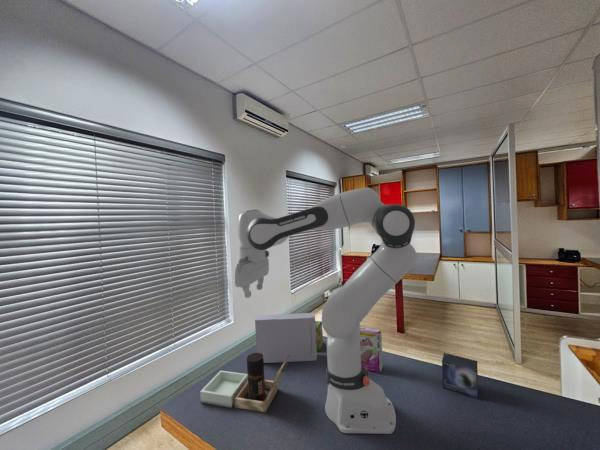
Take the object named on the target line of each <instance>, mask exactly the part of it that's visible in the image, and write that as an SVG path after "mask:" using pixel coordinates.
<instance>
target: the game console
mask: <svg viewBox="0 0 600 450" xmlns="http://www.w3.org/2000/svg"><path fill="white" fill-rule="evenodd" d="M315 321H316V316H315V312H305V313H304V312H302V313H301V312H300V313H284V314H280V313H279V314H264V315H263V314H262V315H256V317H255V320H254V326H255V327H254V328H255V343H256V345H255V347H256V353H261V354H263V361H264V364H270V363H271V364H273V363H274V364H275V363H283V362H284V361H285V359H286V357H287V356H288V355H289V358H288V360H287V363H289V362H290V363H291V362H293V363H294V362H296V363H297V362H312V361H313V362H316V361H317V360H318V351H317V350H316V330H315Z"/></svg>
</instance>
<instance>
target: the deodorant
mask: <svg viewBox="0 0 600 450" xmlns="http://www.w3.org/2000/svg"><path fill="white" fill-rule="evenodd" d="M264 365H265V363H264V361H263V354H261V353H257V352H253V353H250V354H248V356H247V357H246V370H247V371H246V372H247V373H246V374H248V399H251V400H257V401H263V402H264V401H265V399H266V389H265V380H266V379H265V366H264Z"/></svg>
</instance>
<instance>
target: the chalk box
mask: <svg viewBox="0 0 600 450" xmlns="http://www.w3.org/2000/svg"><path fill="white" fill-rule="evenodd" d="M315 330H316V350H317V353H318V352H320V351H321V349H322V348H323V347H322V346H323V344H324V338H323V337H324V336H323V333H324V332H323V325H322V320H321V321H318V320H315Z"/></svg>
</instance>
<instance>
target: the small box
mask: <svg viewBox="0 0 600 450" xmlns="http://www.w3.org/2000/svg"><path fill="white" fill-rule="evenodd" d="M441 368H442V370H441V371H442V373H441V374H442V388H443V389H446V390H448V391H451V392H455V393H458V394H461V395H463V396H466V397H469V398H473V399H475V400H478V398H479V382H478V381H479V380H478V379H479V378H478V360H475V359H470V358H467V357H462V356H460V355H459V356H458V355H454V354H450V353H447V352H443V355H442V359H441Z"/></svg>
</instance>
